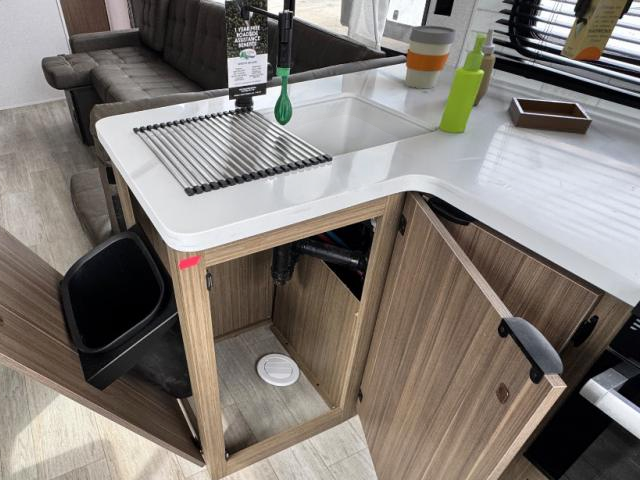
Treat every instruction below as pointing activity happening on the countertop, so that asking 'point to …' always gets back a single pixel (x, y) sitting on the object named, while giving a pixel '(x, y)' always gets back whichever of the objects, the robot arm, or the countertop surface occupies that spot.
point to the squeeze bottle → (486, 65)
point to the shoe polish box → (593, 30)
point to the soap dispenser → (464, 90)
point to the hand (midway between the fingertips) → (597, 16)
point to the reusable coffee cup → (427, 54)
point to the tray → (549, 115)
